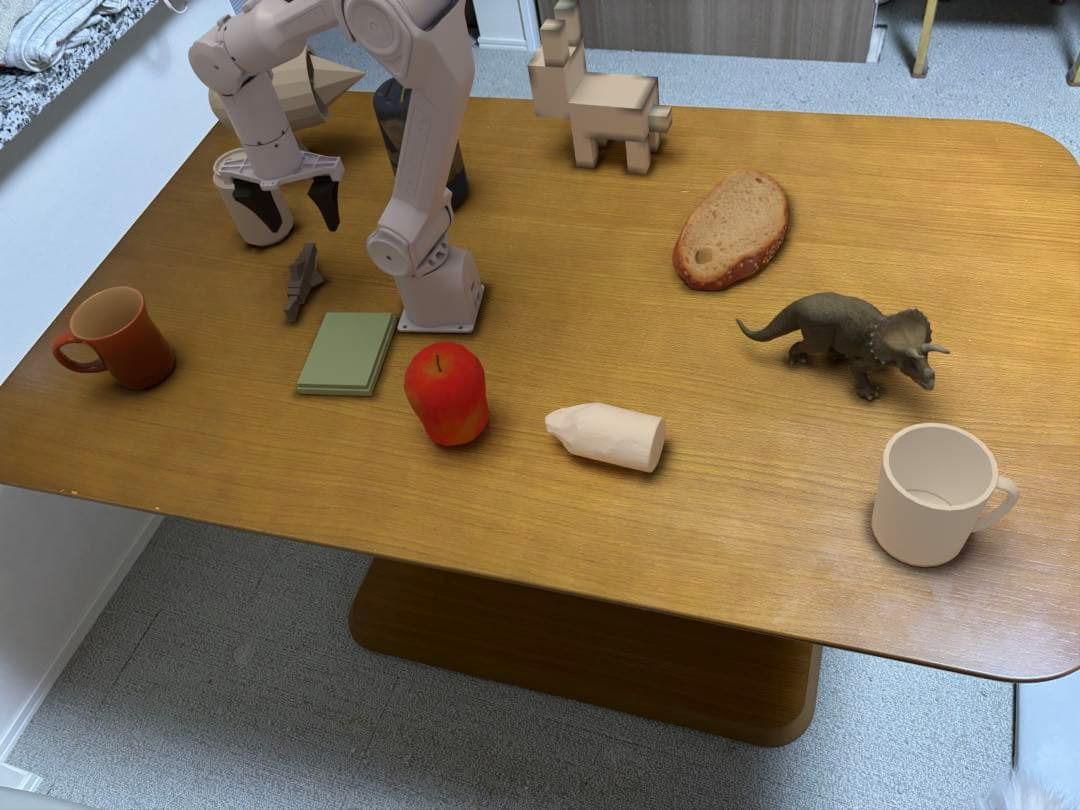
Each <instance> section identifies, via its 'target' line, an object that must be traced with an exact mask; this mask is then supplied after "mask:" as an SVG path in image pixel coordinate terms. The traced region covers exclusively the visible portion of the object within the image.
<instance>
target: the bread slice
mask: <svg viewBox="0 0 1080 810" xmlns="http://www.w3.org/2000/svg"><path fill="white" fill-rule="evenodd" d="M785 194H786V193H785V192H784V191H783V188H782V187H781V186H780V183H779V182H778V181H776V179H774V178H773V177H772V176H770V175H769V174H766V173H765V172H763V171H761V170H757V169H753V168H750V167H745V168H744V167H741V168H736V169H734V171H732V172H730V173H729V174H728V175H727V176H724V177H723V178H722V180H720V182H719V183H718V184H716V185H715V187H713V189H712V190H711V191H709V193H708V194H707V196H705V197H704V198H703V200H702V201H701V202H700V203H699V204H698V206H697V207H696V208H695V209H694V211H693V212H692V213H691V215H690V216H689V217H688V219H687V220H686V222H685V224H684V225H683V228H682V229H681V231H680V233H679V236H678V238H677V239H676V242H675V245H674V247H673V251H672V258H671V260H672V264H673V266H674V268H675V270H676V273H678V275H679V276H680V278H682V279H683V280H684V281H685V283H686V284H687V285H688V286H689V287H690V288H691V289H693V290H704V291H720V290H723V289H725V288H726V287H727V286H729V285H731V284H733V283H734V282H736V281H737V282H738V281H739V280H741V279H745V278H748V277H750V276H752V275H754V274H755V273H758V271H760V270H762V269H763V268H764V267H765V266H766V265H767V264H768V263H769V262H770V260H771V259H772V258H773V257H774V256H775V254H776V253H777V251H778V250H779V248H780V247H781V246H782V244H783V243H784V238H785V235H786V232H787V228H788V223H789V211H788V209H789V208H788V201H787V198H786V195H785Z"/></svg>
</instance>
